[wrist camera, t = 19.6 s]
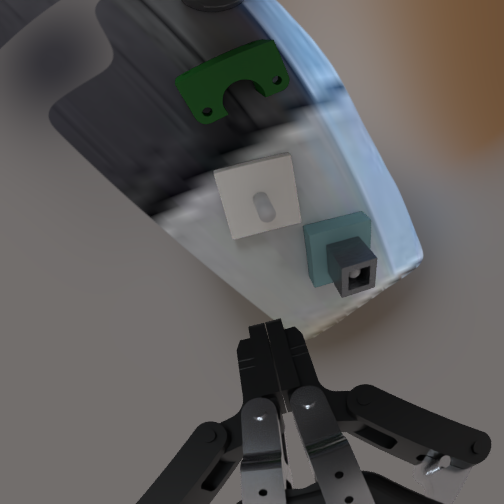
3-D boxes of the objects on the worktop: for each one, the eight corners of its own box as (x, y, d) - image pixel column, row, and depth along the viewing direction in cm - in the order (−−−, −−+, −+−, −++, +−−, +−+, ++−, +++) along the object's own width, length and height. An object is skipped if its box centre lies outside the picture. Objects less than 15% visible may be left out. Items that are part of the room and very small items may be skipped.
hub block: (303, 225, 41) (321, 255, 34) (361, 211, 41) (388, 236, 34) (309, 276, 46) (324, 309, 40) (361, 261, 46) (382, 290, 40)
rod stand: (213, 170, 35) (214, 186, 29) (287, 152, 35) (302, 164, 29) (232, 234, 40) (236, 260, 35) (298, 217, 40) (312, 240, 35)
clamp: (209, 101, 33) (188, 133, 28) (189, 67, 29) (161, 91, 24) (293, 75, 29) (292, 100, 24) (276, 34, 25) (270, 47, 19)
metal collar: (326, 244, 40) (341, 268, 35) (358, 235, 40) (377, 257, 35) (327, 272, 43) (341, 297, 38) (358, 263, 43) (374, 287, 38)
